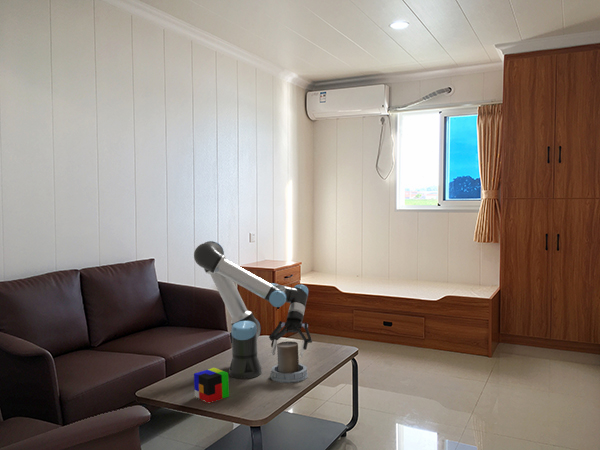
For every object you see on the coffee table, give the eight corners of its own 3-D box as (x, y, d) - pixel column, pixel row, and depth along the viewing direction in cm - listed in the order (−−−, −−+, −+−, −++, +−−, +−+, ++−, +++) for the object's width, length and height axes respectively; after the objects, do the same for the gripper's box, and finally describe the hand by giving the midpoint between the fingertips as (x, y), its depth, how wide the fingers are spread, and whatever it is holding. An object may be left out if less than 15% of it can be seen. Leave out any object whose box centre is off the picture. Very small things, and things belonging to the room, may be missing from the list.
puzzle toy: (194, 397, 210) (193, 373, 210) (214, 390, 217) (214, 367, 217) (208, 403, 203) (207, 379, 203) (229, 396, 210) (228, 372, 210)
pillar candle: (303, 373, 233) (302, 340, 232) (288, 378, 226) (287, 345, 225) (288, 369, 239) (287, 337, 239) (273, 374, 232) (272, 341, 232)
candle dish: (263, 379, 229) (263, 371, 229) (281, 368, 244) (281, 360, 244) (297, 385, 221) (297, 376, 221) (314, 372, 236) (313, 365, 236)
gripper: (322, 319, 243) (315, 360, 229) (273, 317, 250) (263, 357, 236) (319, 310, 237) (311, 352, 224) (269, 309, 244) (258, 348, 231)
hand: (286, 354), depth 230 cm, fingers open, 13 cm apart
